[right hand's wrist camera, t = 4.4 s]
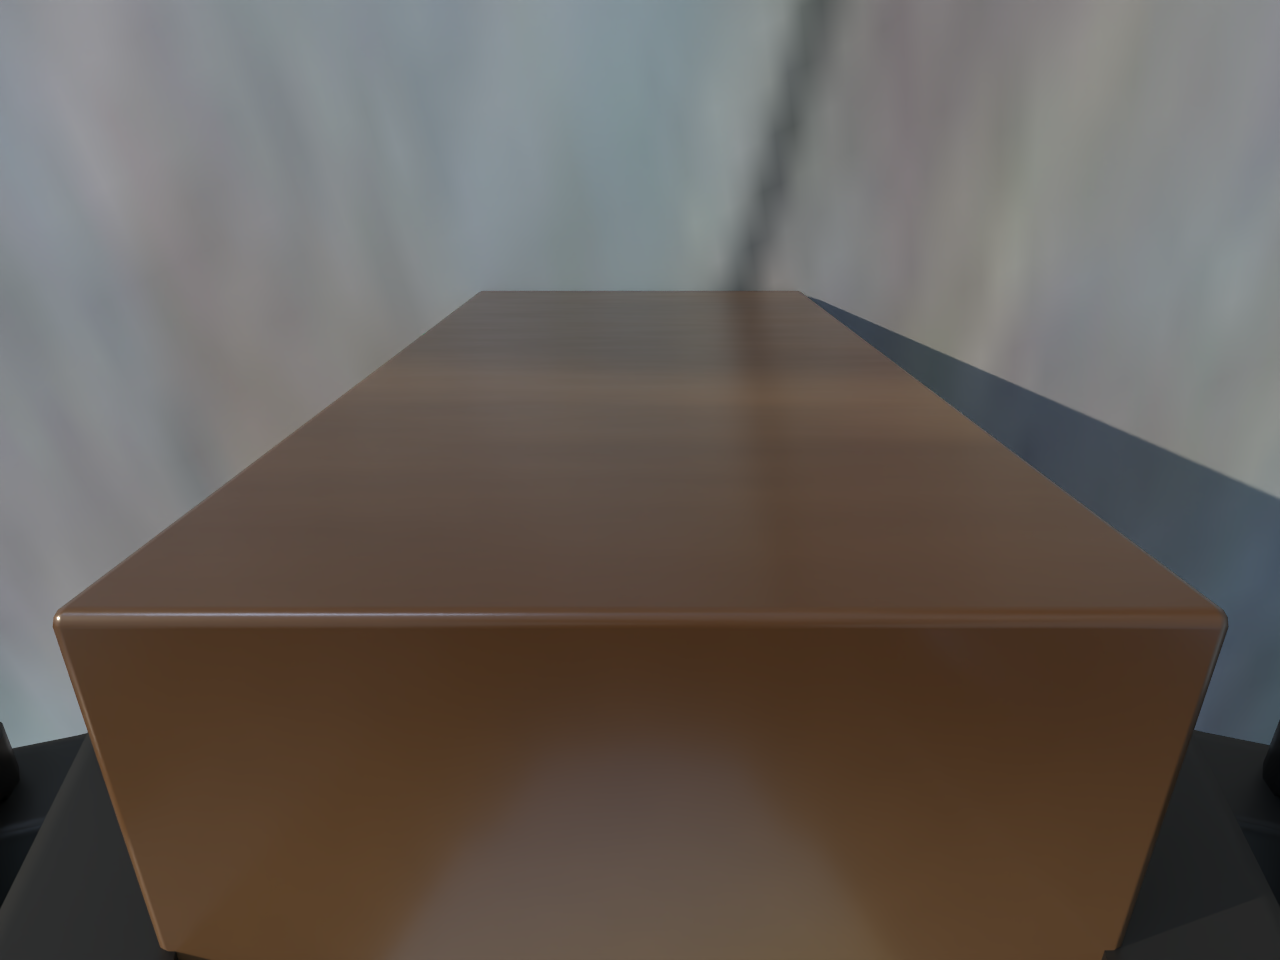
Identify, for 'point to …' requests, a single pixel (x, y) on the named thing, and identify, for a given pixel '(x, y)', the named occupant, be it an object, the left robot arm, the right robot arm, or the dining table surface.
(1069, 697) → the box
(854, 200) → the dining table surface
